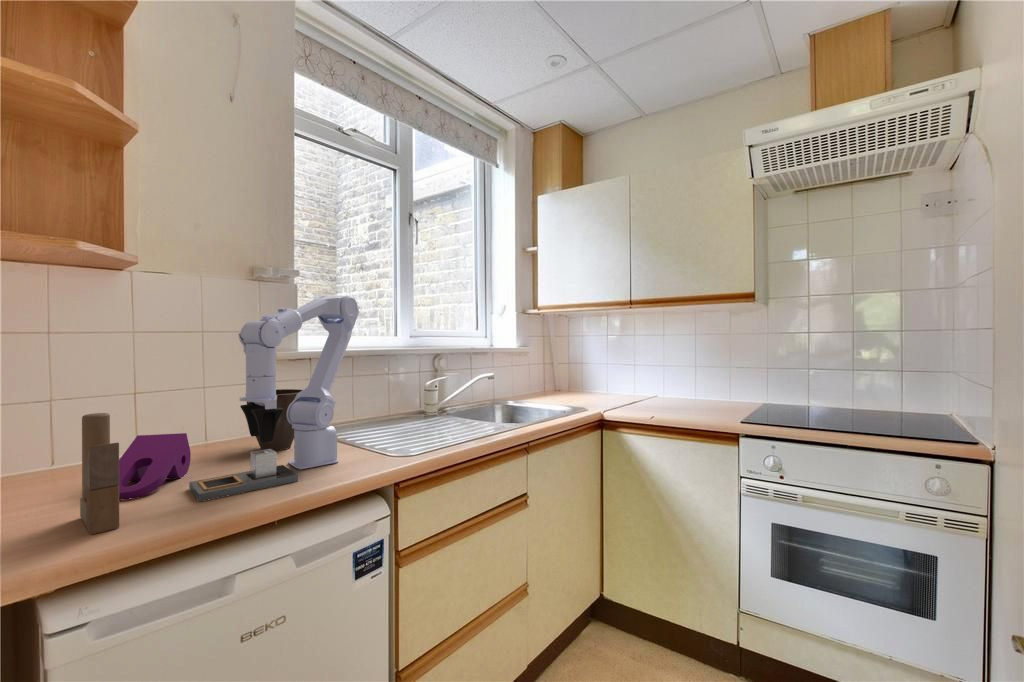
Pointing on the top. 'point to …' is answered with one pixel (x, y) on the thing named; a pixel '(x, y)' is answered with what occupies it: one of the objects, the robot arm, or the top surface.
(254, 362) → the robot arm
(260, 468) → the metal block with hole
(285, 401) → the plant pot
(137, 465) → the mounting bracket
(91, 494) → the wooden block
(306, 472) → the top surface
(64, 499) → the top surface
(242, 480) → the grey holder tray
